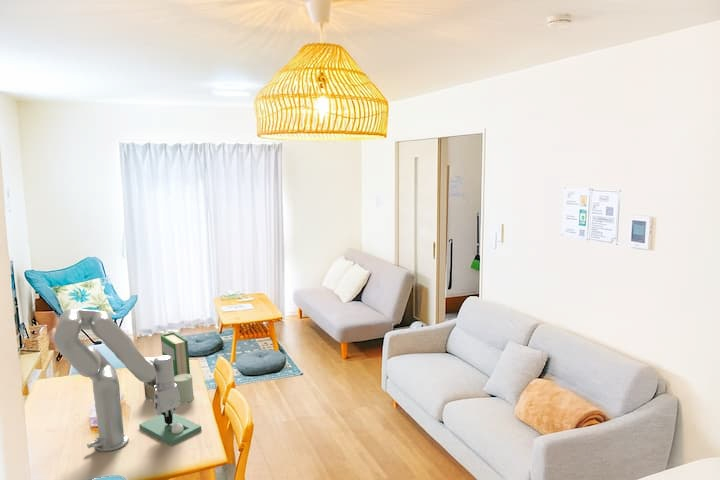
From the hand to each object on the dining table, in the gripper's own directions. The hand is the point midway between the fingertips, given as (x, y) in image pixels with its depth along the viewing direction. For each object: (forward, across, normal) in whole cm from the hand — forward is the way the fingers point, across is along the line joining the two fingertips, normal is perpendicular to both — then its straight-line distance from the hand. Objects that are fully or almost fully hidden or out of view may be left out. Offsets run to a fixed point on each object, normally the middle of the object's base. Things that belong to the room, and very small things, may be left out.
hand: (168, 423), depth 234 cm
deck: (+3, 0, 0) cm, 3 cm away
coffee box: (+3, +14, +33) cm, 36 cm away
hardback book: (+3, +32, +42) cm, 53 cm away
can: (+3, +21, +20) cm, 29 cm away
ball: (0, 0, -7) cm, 7 cm away
